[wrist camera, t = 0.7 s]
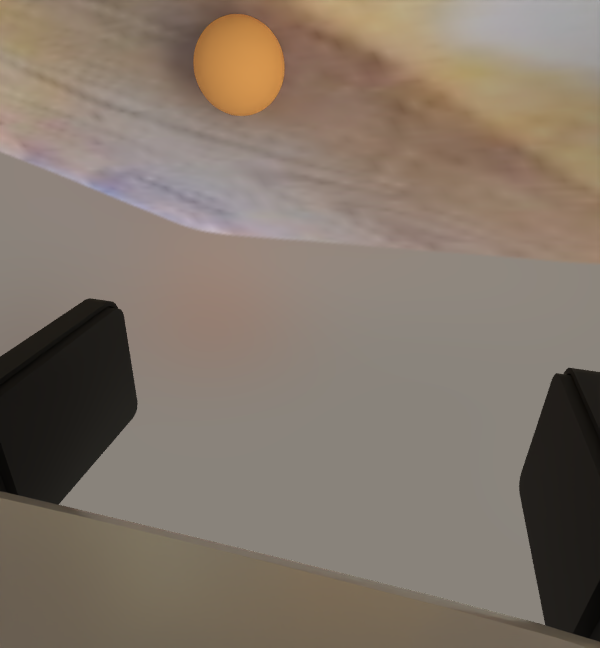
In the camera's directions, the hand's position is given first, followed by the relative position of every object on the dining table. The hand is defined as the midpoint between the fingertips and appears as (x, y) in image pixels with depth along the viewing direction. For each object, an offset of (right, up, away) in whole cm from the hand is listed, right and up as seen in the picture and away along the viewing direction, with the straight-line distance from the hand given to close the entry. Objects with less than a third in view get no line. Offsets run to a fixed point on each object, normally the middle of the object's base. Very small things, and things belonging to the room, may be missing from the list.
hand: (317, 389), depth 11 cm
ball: (-4, +17, +19) cm, 26 cm away
